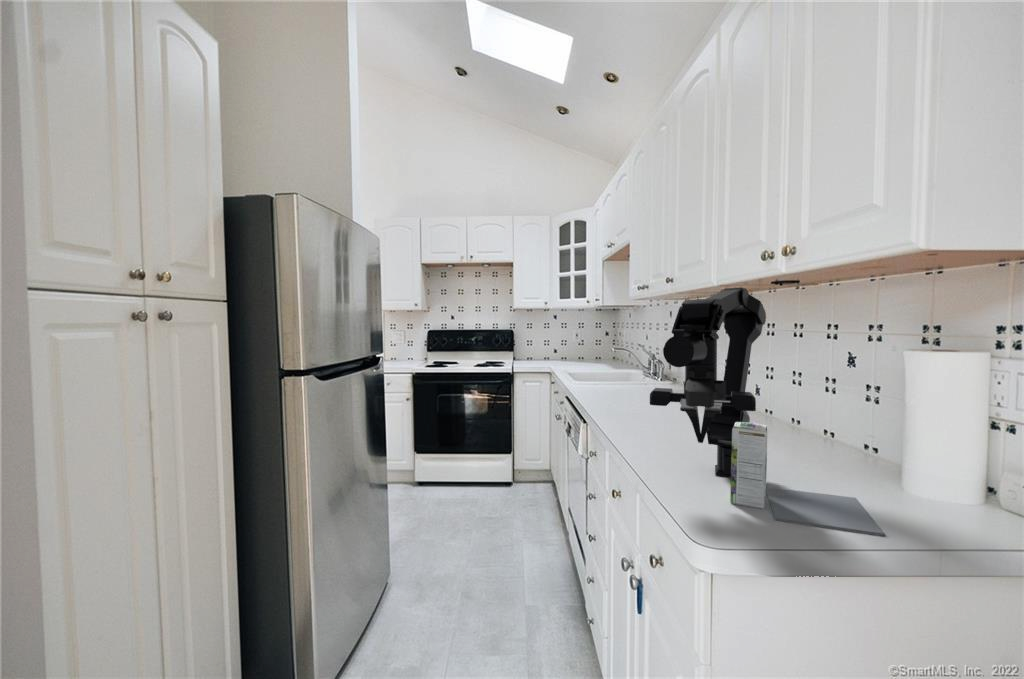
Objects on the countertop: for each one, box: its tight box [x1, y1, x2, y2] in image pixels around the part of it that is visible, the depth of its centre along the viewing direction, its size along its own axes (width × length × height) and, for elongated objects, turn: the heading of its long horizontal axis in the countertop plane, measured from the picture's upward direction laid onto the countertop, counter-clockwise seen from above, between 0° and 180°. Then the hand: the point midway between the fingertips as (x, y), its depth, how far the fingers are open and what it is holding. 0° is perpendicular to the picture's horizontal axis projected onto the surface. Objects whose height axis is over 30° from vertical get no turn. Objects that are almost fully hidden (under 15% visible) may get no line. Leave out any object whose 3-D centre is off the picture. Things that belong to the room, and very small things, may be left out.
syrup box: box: [729, 421, 769, 509], centre depth 85 cm, size 6×6×14 cm
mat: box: [766, 486, 886, 537], centre depth 81 cm, size 16×15×1 cm
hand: (700, 442), depth 89 cm, fingers closed
